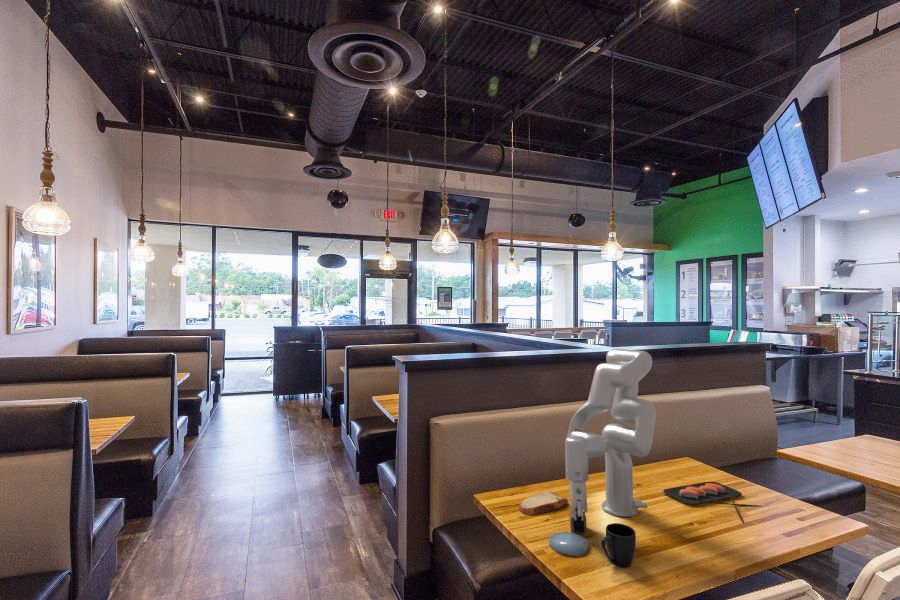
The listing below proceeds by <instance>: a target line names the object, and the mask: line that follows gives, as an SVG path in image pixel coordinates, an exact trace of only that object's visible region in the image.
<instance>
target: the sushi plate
mask: <svg viewBox="0 0 900 600" xmlns="http://www.w3.org/2000/svg"><path fill="white" fill-rule="evenodd" d="M662 491H663V493H664V494H665V495H667V496H669V497H671V498H673V499H675V500H677V501H678V502H682V503H684V504H687V505H691V506H695V505H701V504H707V503H708V504H719V505H729V506H733V507H734V508H735V511H736V513H737V515H738V517H739V520H741V522H742V524H746V523H745V521H744V519H743V517H742V515H741V513H740V511H739V509H738V507H737V506H739V507H755V508H756V507H764V505H759V504H758V505H756V504H743V503H735V502H734V500H733V498H738V497H740V496H742V494H743V493H742V492H741V491H739V490H737V489H734V488H732V487H730V486H728V485H724V484H722V483H719V482H716V481H704V482H697V483H692V484H685V485H681V486H680V485H679V486H675V487H670V488H669V487H668V488H664V489H663V490H662ZM726 499H730V500H731V503H729V502H717V501H722V500H726Z"/></svg>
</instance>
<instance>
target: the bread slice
mask: <svg viewBox="0 0 900 600" xmlns="http://www.w3.org/2000/svg"><path fill="white" fill-rule="evenodd" d="M568 503H569V500H568V498H566V497H563V496H560V495H558V494H557V493H555V492H553V491H545V492H539V493H535V494H532V495H530V496H528V497H527V498H526V499H523V500H522V501H521V503H519V512H520V514H522V515H525V516H532V515H533V516H534V515H538V514H539V515H540V514H543V513H548V512H552V511H555V510H558V509H560V508H562V507H564V506H566V505H567V504H568Z"/></svg>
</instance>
